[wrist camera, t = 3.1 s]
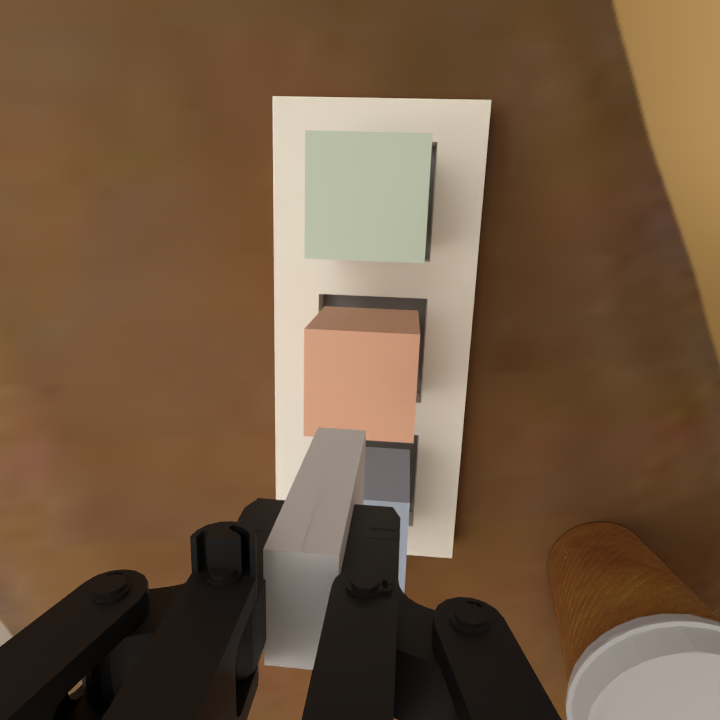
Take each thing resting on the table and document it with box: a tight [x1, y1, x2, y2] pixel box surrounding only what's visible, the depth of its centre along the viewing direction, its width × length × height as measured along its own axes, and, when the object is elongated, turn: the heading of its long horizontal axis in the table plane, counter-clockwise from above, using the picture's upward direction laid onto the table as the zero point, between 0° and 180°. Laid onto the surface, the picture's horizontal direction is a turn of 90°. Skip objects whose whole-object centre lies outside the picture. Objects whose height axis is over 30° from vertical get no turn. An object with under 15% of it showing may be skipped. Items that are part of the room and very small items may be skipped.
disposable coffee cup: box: [547, 522, 720, 720], centre depth 30 cm, size 10×10×12 cm
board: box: [273, 96, 491, 558], centre depth 32 cm, size 26×11×2 cm, turn 178°
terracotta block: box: [304, 306, 420, 443], centre depth 27 cm, size 5×5×6 cm
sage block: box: [305, 130, 433, 263], centre depth 25 cm, size 5×5×6 cm
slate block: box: [363, 447, 410, 593], centre depth 29 cm, size 5×5×6 cm
